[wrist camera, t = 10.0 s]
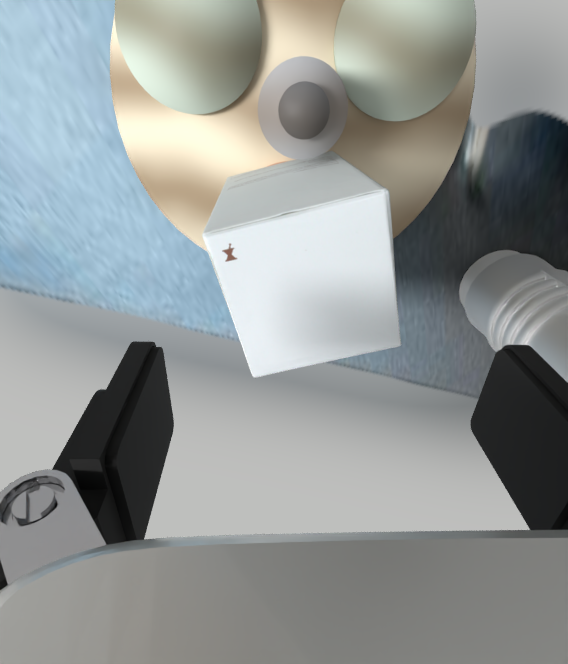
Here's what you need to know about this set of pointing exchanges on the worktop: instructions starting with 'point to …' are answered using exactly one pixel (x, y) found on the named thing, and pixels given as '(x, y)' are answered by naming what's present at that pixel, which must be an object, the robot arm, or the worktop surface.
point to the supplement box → (305, 262)
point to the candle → (519, 304)
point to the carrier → (290, 93)
